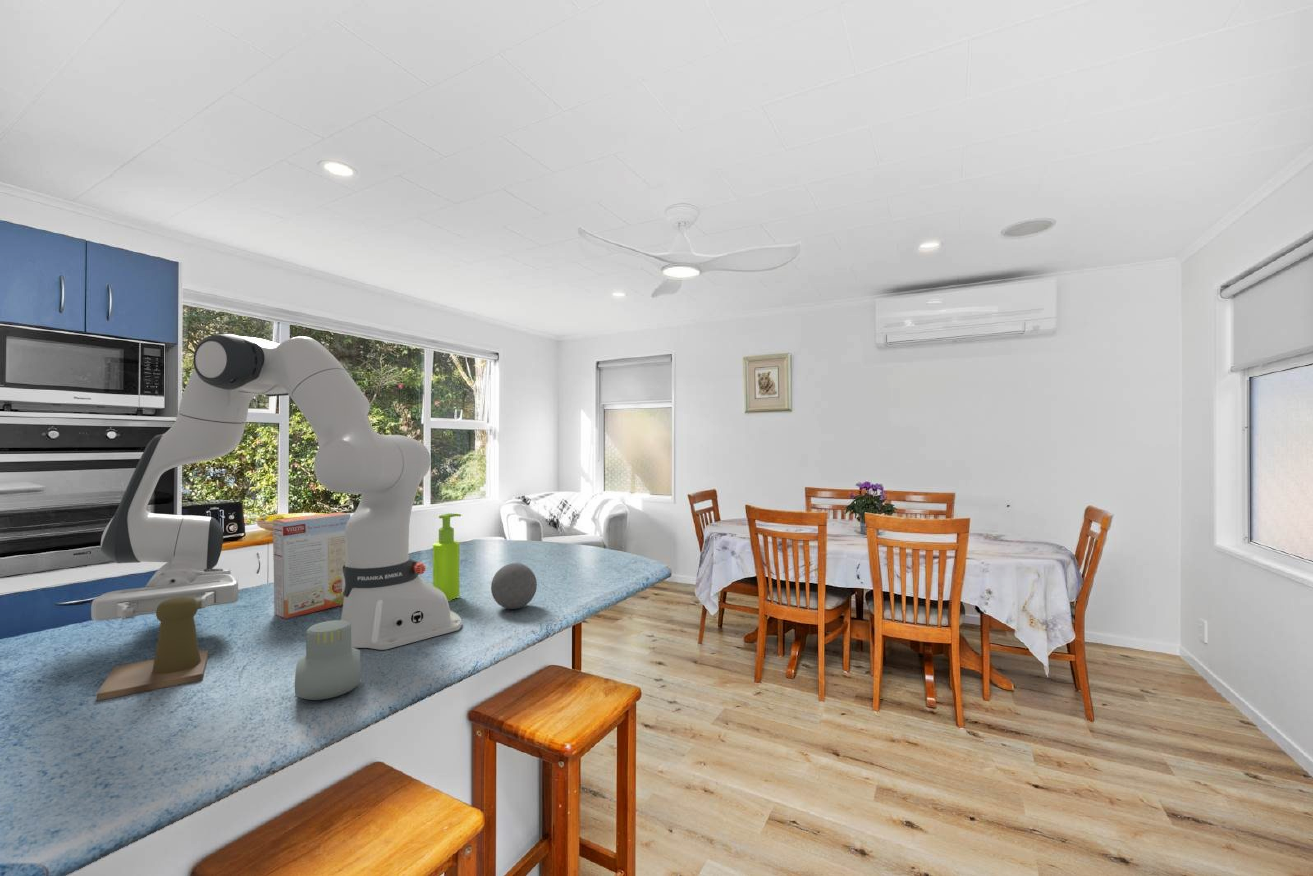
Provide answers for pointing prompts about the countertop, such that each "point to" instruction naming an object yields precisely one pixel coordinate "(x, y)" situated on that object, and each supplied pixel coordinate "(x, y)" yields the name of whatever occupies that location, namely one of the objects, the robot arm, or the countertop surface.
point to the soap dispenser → (446, 560)
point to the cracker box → (308, 563)
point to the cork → (176, 636)
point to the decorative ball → (514, 586)
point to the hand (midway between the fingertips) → (164, 609)
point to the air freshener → (328, 662)
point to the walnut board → (147, 678)
